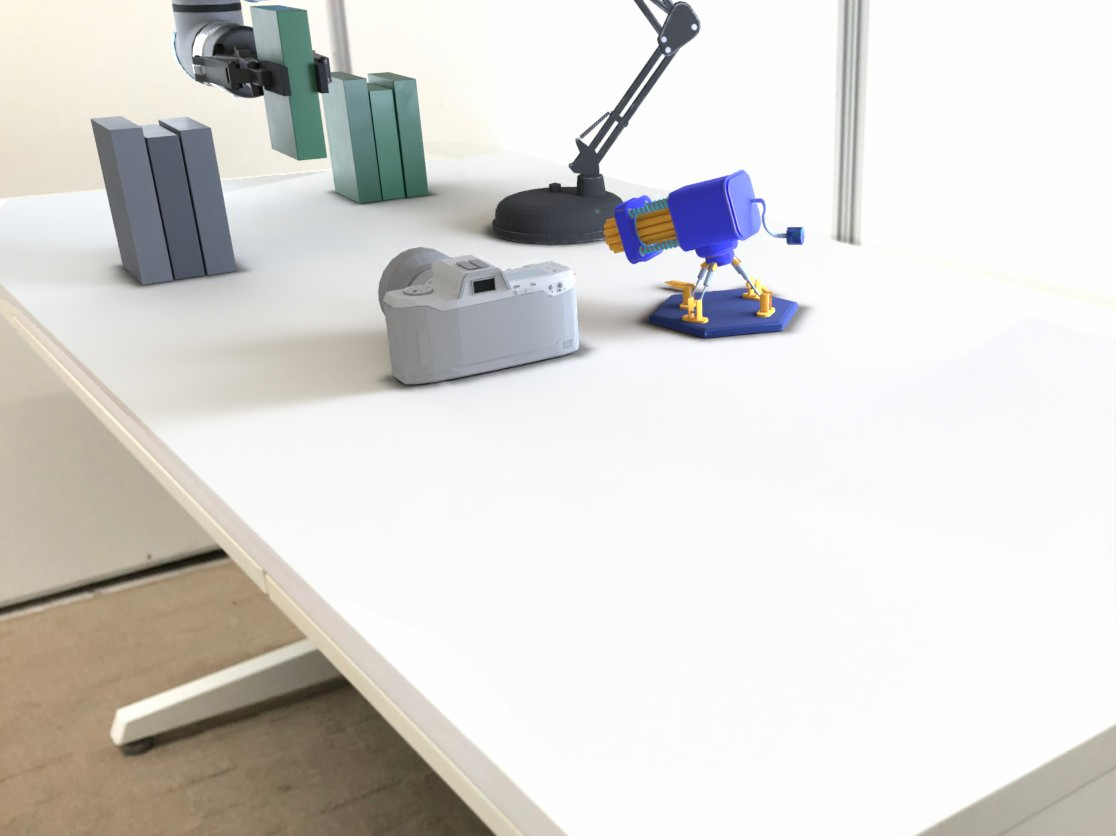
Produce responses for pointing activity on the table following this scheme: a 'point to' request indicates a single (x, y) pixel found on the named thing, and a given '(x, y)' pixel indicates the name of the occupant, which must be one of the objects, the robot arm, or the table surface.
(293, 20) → the green book
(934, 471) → the table surface
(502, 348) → the digital camera
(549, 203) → the desk lamp
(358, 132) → the green books
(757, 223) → the toy gatling gun
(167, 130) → the grey books
